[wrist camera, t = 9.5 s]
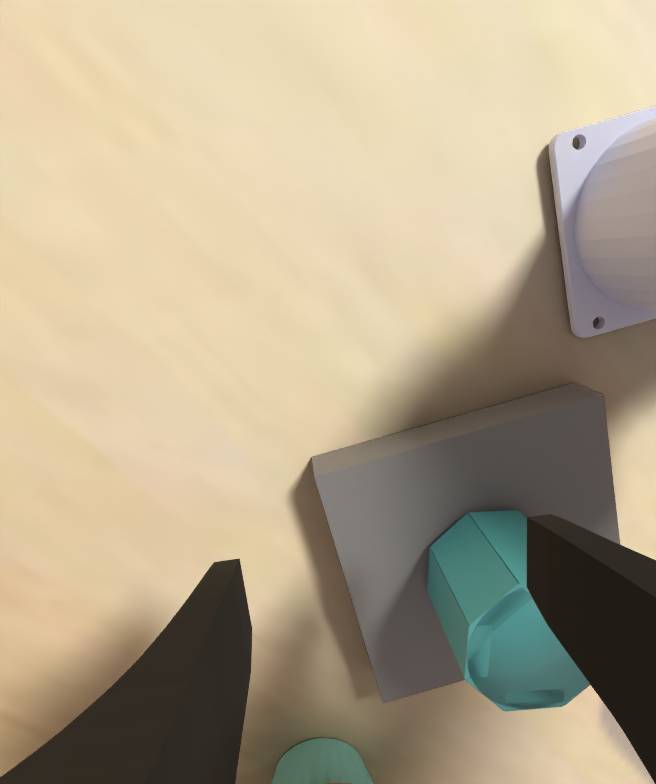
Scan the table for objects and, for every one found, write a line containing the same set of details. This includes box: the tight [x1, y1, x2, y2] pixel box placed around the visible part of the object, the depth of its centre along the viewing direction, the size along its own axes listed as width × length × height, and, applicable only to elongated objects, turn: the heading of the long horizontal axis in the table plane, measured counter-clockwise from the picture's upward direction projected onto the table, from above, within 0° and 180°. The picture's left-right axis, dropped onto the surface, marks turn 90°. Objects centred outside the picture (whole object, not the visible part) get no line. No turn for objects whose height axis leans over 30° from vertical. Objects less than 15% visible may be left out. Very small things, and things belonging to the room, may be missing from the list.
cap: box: [427, 510, 591, 711], centre depth 18 cm, size 5×5×4 cm
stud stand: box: [312, 383, 620, 703], centre depth 20 cm, size 12×12×6 cm
